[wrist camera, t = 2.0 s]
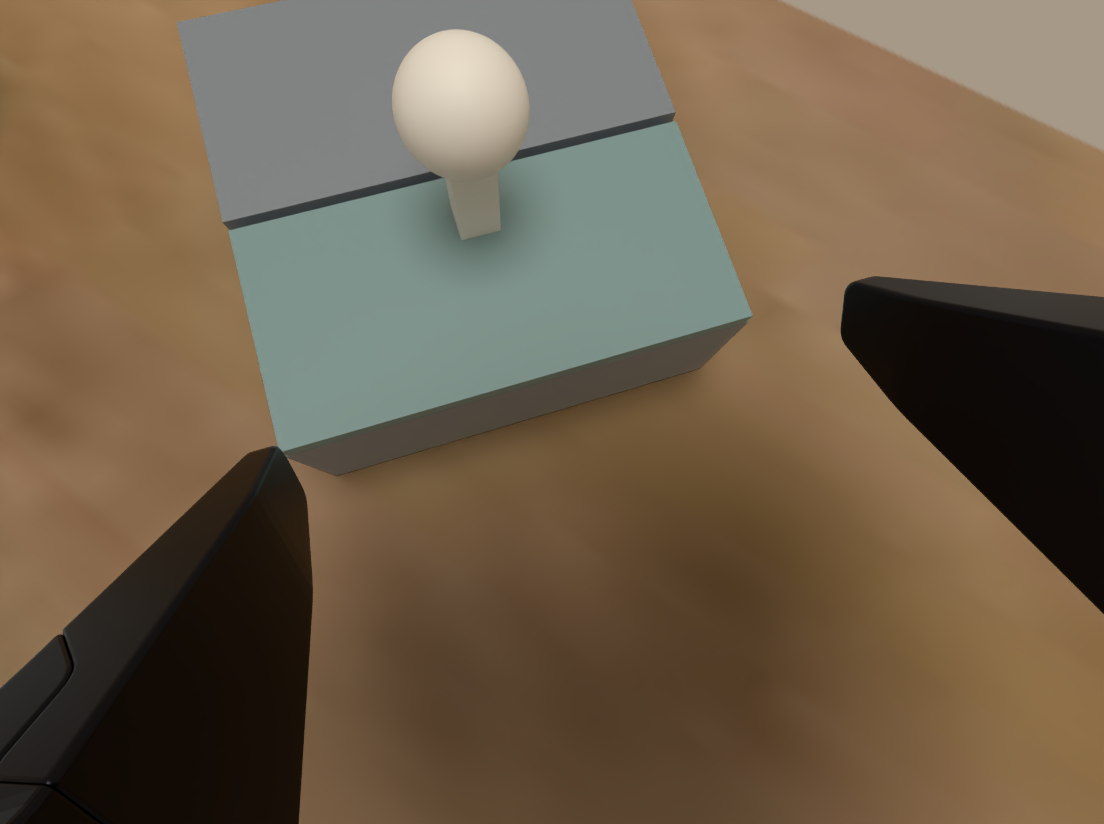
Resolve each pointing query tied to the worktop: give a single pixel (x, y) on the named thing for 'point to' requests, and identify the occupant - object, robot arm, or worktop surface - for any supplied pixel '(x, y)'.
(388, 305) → the near flap
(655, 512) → the worktop surface
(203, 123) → the carton
